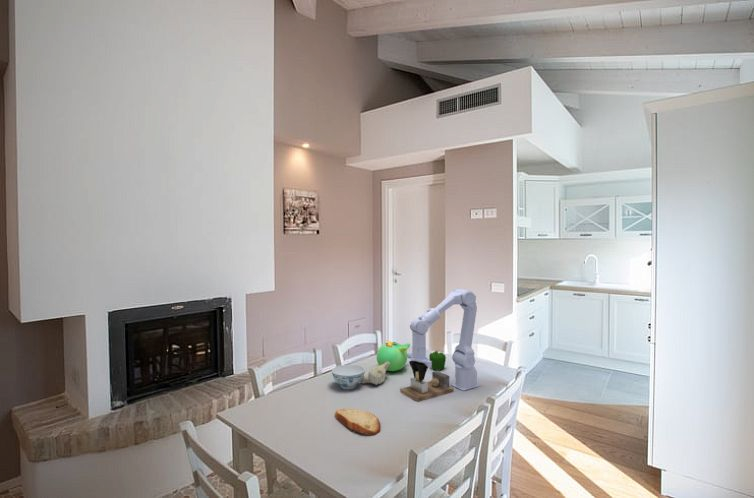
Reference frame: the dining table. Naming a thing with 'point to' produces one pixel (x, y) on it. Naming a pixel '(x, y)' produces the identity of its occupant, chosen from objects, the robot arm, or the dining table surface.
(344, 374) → the chinaware
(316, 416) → the dining table surface
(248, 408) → the dining table surface
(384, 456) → the dining table surface
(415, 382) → the jaw
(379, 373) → the ginger root
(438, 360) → the bell pepper
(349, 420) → the bread slice
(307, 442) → the dining table surface
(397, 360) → the toy bird
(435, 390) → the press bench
